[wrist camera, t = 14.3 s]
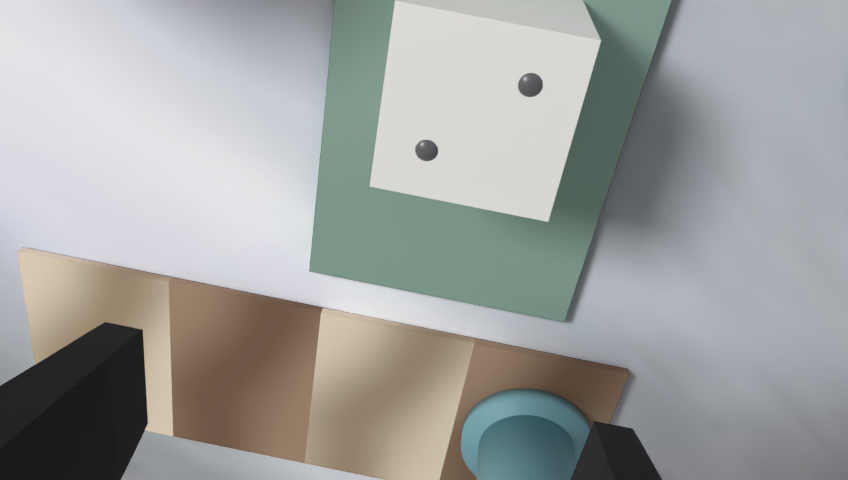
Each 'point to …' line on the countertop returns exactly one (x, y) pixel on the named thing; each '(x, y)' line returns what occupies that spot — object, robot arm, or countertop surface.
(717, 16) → the countertop surface
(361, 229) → the felt pad
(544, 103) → the die
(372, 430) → the track
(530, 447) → the pawn
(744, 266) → the countertop surface
